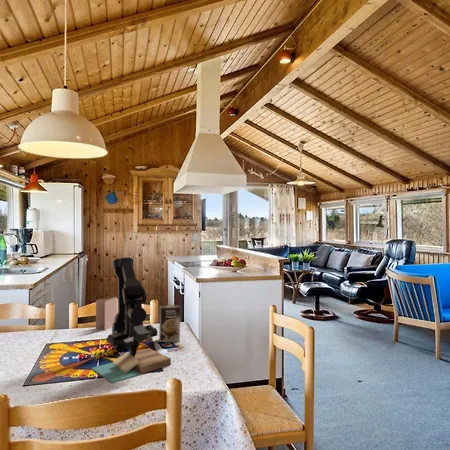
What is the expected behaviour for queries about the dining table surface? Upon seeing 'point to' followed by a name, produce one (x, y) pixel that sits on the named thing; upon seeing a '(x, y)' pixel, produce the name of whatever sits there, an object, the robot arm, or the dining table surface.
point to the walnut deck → (150, 361)
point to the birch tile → (125, 362)
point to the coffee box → (169, 323)
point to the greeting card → (106, 312)
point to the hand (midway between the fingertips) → (132, 357)
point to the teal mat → (114, 373)
